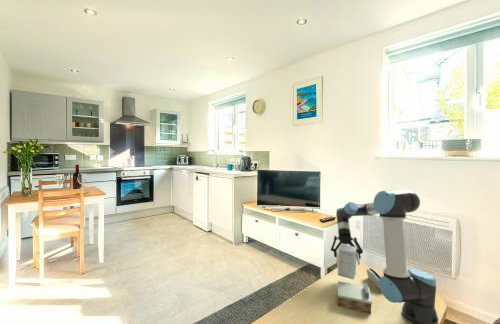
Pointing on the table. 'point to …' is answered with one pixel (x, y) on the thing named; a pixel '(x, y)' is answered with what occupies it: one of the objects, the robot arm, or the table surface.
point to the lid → (354, 292)
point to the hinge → (374, 276)
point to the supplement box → (347, 261)
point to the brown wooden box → (354, 305)
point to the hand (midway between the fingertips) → (348, 263)
